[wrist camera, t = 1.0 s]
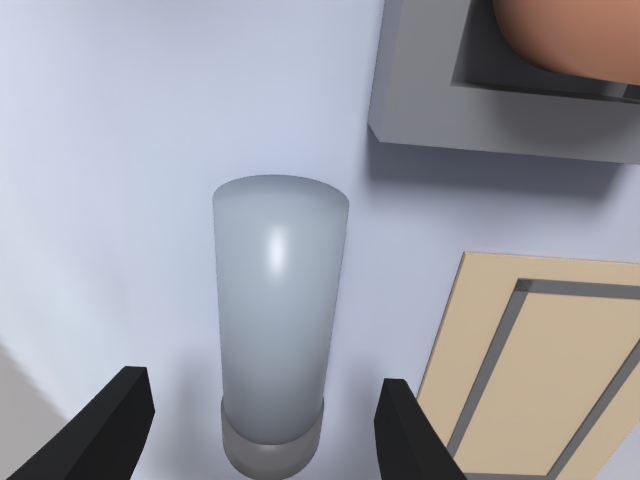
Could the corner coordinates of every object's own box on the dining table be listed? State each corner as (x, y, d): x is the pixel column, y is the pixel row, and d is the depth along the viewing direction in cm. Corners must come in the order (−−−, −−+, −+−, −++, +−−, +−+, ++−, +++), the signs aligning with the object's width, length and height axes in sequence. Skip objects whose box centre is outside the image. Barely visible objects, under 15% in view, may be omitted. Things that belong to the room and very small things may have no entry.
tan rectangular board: (751, 272, 15) (759, 276, 15) (581, 487, 23) (584, 492, 22) (464, 251, 14) (467, 255, 14) (389, 481, 22) (390, 486, 22)
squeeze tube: (347, 180, 13) (360, 237, 9) (319, 392, 18) (320, 483, 14) (225, 170, 13) (188, 225, 9) (233, 388, 18) (212, 479, 14)
